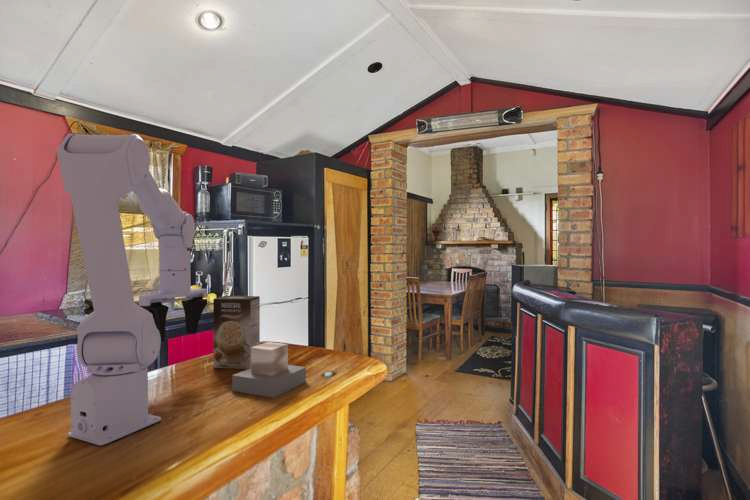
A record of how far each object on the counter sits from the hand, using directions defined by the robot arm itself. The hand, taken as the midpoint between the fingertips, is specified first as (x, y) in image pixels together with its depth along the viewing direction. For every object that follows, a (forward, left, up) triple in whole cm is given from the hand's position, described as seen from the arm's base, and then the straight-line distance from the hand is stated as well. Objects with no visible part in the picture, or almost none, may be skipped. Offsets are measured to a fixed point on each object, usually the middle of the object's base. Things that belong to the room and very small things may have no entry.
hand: (175, 337), depth 83 cm
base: (+6, -19, -9) cm, 22 cm away
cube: (+6, -19, -6) cm, 21 cm away
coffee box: (+15, -2, -10) cm, 18 cm away
